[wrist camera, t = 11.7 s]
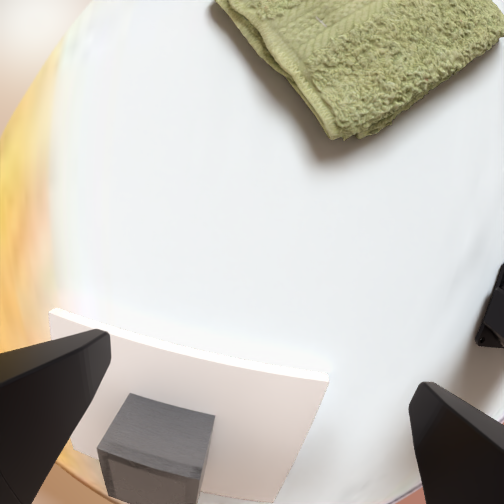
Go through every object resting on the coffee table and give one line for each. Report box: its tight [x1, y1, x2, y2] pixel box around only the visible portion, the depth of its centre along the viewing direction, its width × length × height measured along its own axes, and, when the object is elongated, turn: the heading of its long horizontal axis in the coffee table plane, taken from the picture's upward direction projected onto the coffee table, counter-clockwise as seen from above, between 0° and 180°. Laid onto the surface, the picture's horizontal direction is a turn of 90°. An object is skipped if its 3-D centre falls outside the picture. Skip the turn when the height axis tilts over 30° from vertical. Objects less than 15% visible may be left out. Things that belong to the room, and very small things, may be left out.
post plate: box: [48, 307, 329, 503], centre depth 20 cm, size 20×16×5 cm
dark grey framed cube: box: [97, 393, 215, 504], centre depth 18 cm, size 6×6×6 cm
